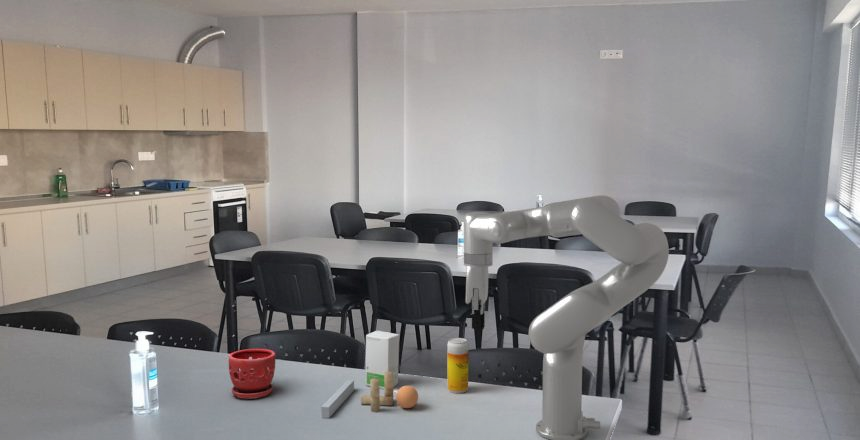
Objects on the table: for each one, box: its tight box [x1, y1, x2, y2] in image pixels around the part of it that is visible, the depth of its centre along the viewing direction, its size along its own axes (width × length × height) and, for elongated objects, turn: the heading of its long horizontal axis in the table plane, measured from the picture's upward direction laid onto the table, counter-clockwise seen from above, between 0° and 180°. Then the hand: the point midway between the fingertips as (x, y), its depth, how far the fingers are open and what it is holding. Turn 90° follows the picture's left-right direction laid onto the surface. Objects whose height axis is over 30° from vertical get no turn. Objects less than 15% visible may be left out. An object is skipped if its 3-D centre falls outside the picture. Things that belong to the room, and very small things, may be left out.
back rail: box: [321, 379, 355, 419], centre depth 193 cm, size 2×22×3 cm, turn 169°
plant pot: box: [228, 348, 276, 400], centre depth 201 cm, size 13×13×12 cm
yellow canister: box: [446, 337, 469, 394], centre depth 202 cm, size 6×6×15 cm
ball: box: [395, 385, 419, 409], centre depth 189 cm, size 6×6×6 cm
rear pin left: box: [370, 378, 381, 413], centre depth 187 cm, size 2×2×8 cm
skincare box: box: [364, 330, 400, 390], centre depth 208 cm, size 8×7×16 cm
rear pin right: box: [384, 371, 394, 398], centre depth 194 cm, size 2×2×8 cm
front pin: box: [360, 394, 394, 407], centre depth 192 cm, size 2×2×8 cm
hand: (478, 328), depth 184 cm, fingers closed
